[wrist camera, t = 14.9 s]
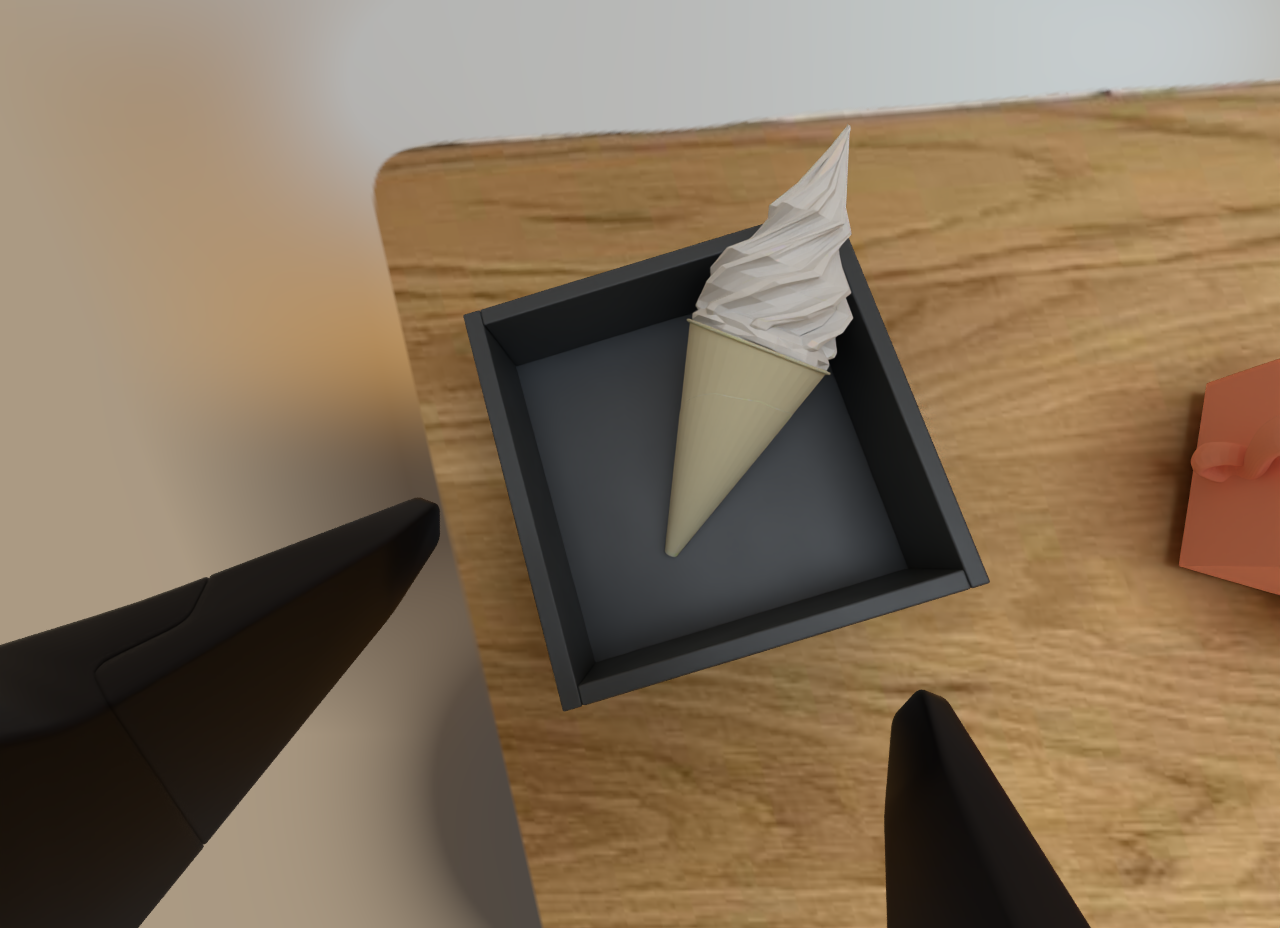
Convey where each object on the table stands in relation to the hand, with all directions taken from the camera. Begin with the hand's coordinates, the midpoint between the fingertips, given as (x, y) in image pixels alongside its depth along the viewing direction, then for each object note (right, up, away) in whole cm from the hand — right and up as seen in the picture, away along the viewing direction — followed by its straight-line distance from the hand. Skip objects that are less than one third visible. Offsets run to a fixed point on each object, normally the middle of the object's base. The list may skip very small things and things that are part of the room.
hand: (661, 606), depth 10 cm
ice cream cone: (+1, -1, +11) cm, 11 cm away
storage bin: (+2, +3, +12) cm, 13 cm away
